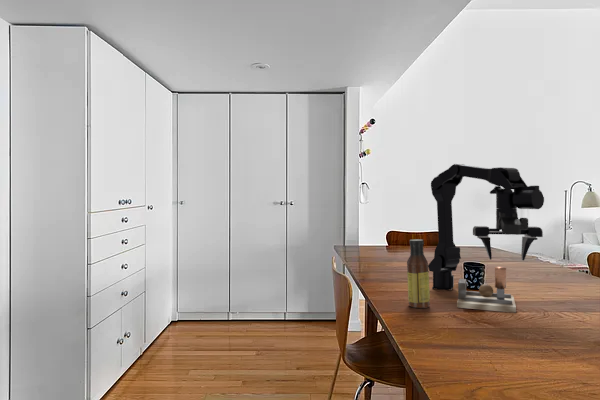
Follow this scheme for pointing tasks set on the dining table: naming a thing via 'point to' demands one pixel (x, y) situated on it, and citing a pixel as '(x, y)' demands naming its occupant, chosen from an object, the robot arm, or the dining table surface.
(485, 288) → the walnut
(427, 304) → the sauce bottle
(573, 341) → the dining table surface
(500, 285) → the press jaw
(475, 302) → the nutcracker board
